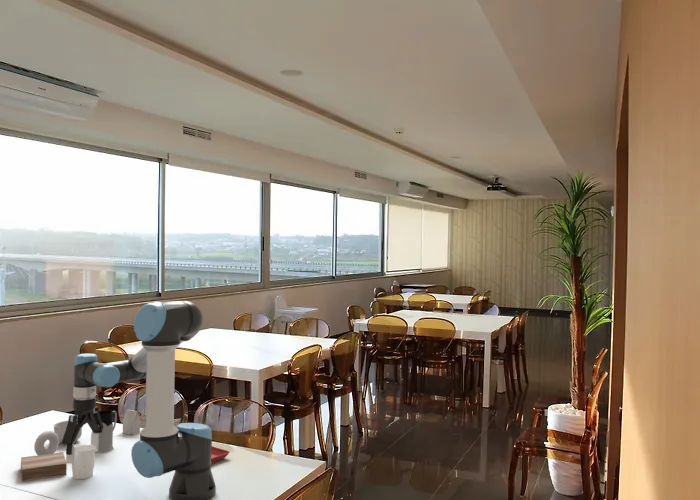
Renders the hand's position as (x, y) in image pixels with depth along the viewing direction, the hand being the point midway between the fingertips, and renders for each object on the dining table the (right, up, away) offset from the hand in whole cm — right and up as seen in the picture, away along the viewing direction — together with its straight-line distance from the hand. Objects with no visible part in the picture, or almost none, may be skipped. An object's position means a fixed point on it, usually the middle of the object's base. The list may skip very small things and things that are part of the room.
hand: (82, 456), depth 218 cm
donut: (-22, -7, +19) cm, 30 cm away
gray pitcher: (-4, -7, +32) cm, 33 cm away
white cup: (0, -7, 0) cm, 7 cm away
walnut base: (-16, -6, +3) cm, 17 cm away
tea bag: (-2, -7, +53) cm, 54 cm away
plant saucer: (+36, -8, +19) cm, 42 cm away
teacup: (-23, -7, +40) cm, 46 cm away
